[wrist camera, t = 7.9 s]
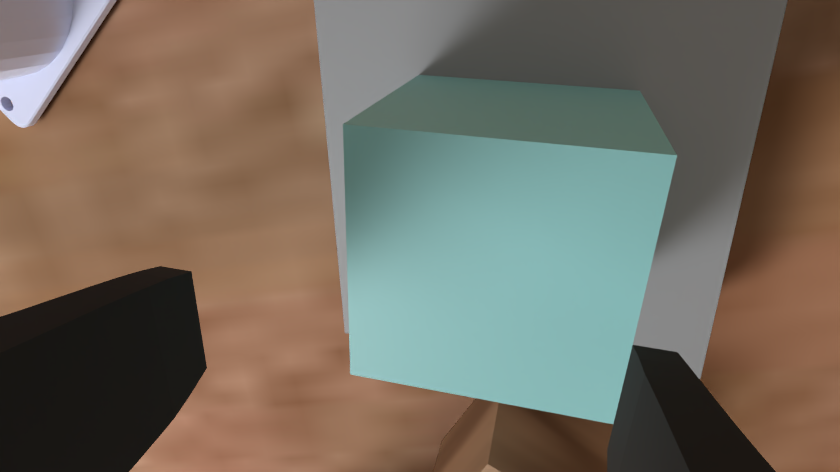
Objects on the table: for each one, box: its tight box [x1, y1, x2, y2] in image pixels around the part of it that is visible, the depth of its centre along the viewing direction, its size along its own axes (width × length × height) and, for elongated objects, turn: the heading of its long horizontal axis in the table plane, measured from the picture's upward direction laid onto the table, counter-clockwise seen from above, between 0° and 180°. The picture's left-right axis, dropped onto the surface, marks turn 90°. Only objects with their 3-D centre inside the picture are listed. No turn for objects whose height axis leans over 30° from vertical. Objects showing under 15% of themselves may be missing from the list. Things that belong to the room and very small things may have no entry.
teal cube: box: [343, 75, 677, 424], centre depth 12 cm, size 5×5×5 cm
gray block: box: [314, 0, 788, 379], centre depth 16 cm, size 10×10×4 cm
